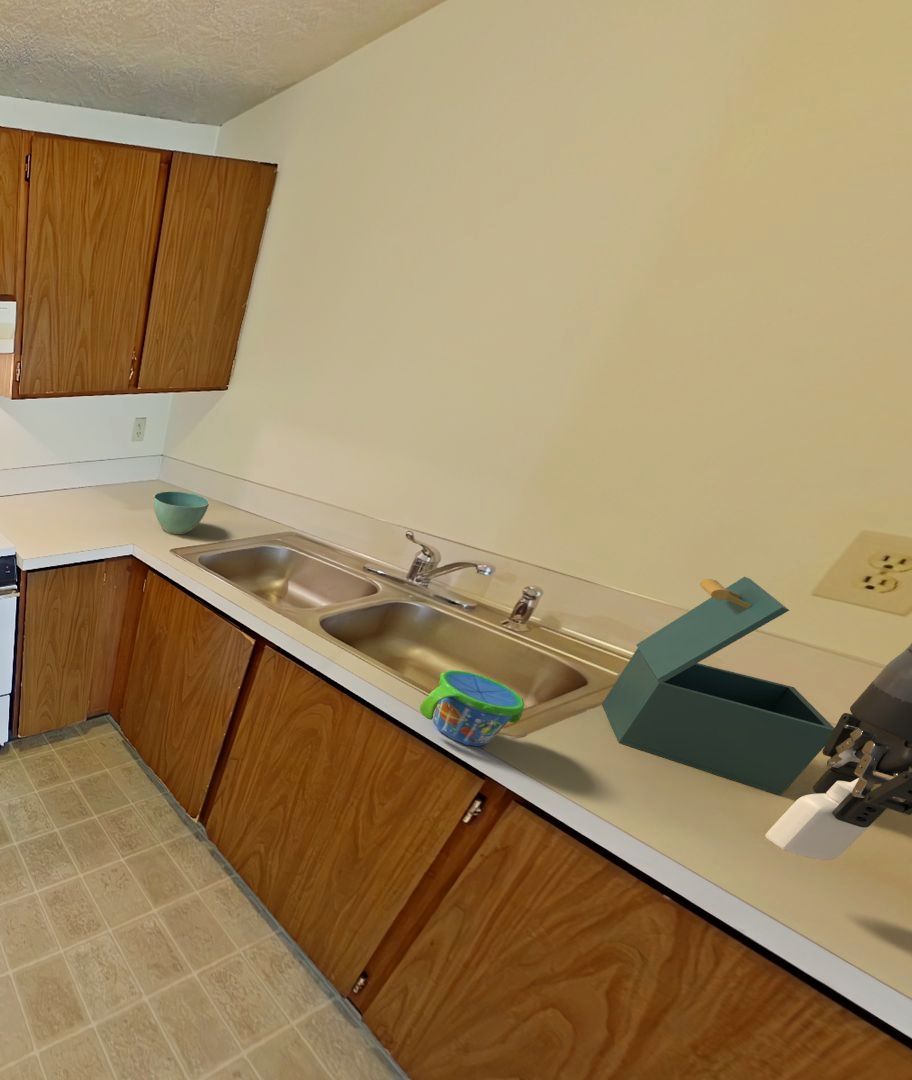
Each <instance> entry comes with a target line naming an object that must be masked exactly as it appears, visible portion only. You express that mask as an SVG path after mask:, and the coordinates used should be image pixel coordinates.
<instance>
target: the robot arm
mask: <svg viewBox="0 0 912 1080" xmlns="http://www.w3.org/2000/svg"><path fill="white" fill-rule="evenodd" d="M849 711H850V713H849V712H843V713H842V714H841V715H840V717H839V719H838V721H837V723H836V725H835V726H834V730H833V732H832V734H831V736H830V738H829V740H828V741H827V743H826V745H825V747H824V748H823V749H822V755H823V756H825V757H829V758H828V760H827V761H826V767H828V768H827V770H825V772H824V773H823V774H822V775H821V776H820V777H819V778H818V780H817V781H816V782H815V783H814V784H813V785H812V786H811V790H812V791H813V792H814V794H821V793H823V794H827V793H826V792H827V791H828V790H829V789H830V788H831V787H832V786H833V785H834V784H835V783H836V782H837V781H846V782H852V781H854V780H856V779H857V778H859V780H858V782H857V783H856V785H855V787H854V789H853V790H852V793H849V794H848V795H847V797H846V798H845V799H844V800H843V801H842V802H841V803H840V804H839V805H838V806H837V807H836V808H835V809H834V810H833V811H832V814H833V815H834V817H835V818H836V819H838V820H840V821H843V822H846V823H849V824H852V825H855V826H858V827H864V828H865V827H869V826H870V825H871V824H872V823H873V822H874V821H875V822H876V820H877V819H878V818H879V817H881V815H882V814H883V813H885V811H886V810H889V811H890V810H891V811H893V812H897V813H901V814H903V815H907V816H911V815H912V642H911V643H910V644H909V645H908V647H906V649H903V651H902V652H901V653H899V654H898V655H897V656H896V657H894V658H892V660H891V661H889V662H888V663H887V664H886V665H885V666H884V668H883V669H882V670H881V671H880V672H879V673H878V675H877V676H875V678H874V679H873V680H872V681H871V682H870V684H868V686H867V687H866V689H864V691H862V693H861V694H860V695H859V697H857V699H856V700H854V702H853V703H852V704H851V705H850V707H849ZM875 773H879V774H882V775H886V776H888V777H889V776H890V777H892V778H888V777H886V776H885V777H884V776H880V775H878V774H875ZM875 785H878V786H876V788H874V789H873V787H874V786H875ZM875 822H874V823H875ZM874 823H873V824H874ZM873 824H872V825H873ZM872 825H871V826H872ZM871 826H870V827H871ZM870 827H869V828H870Z"/></svg>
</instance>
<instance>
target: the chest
mask: <svg viewBox="0 0 912 1080" xmlns="http://www.w3.org/2000/svg"><path fill="white" fill-rule="evenodd" d="M601 706H602V708H603V710H604V711H603V712H604V713H605V715H606V718H607V720H608V722H609V725H610V727H611V729H612V732H613V733H614V736H615V738H616V741H617V743H618V744H621V745H624V746H627V747H630V748H634V749H636V750H639V751H643V752H645V753H649V754H652V755H654V756H657V757H661V758H664V759H667V760H670V761H673V762H676V763H679V764H682V765H686V766H688V767H691V768H695V769H698V770H700V771H704V772H707V773H711V774H712V775H716V776H719V777H721V778H724V779H729V780H731V781H734V782H736V783H741V784H744V785H746V786H749V787H752V788H755V789H759V790H762V791H764V792H768V793H771V794H774V795H776V796H777V795H778V796H779V797H780V796H782V795H783V794H784V793H785V792H786V791H787V789H789V787H790V786H791V785H792V784H793V782H795V781H796V780H797V778H798V777H799V776H800V775H801V774H802V773H803V772H804V770H805V769H806V768H807V767H808V766H809V764H810V763H811V762H812V761H813V760H814V759H815V758H816V757H817V756H818V755H819V754H820V752H821V751H823V749H824V747H825V745H826V743H827V741H828V740H829V738H830V736H831V734H832V732H833V730H834V728H835V726H833V725H832V723H830V721H828V720H827V719H826V718H825V717H824V716H823V714H821V713H820V712H819V710H817V709H816V708H815V706H814V705H812V703H810V701H808V700H807V698H805V696H804V695H802V694H801V693H800V692H799V691H798V690H797V689H796V687H794V686H791V685H787V684H783V683H779V682H775V681H771V680H767V679H764V678H758V677H755V676H751V675H746V674H743V673H740V672H739V673H738V672H735V671H731V670H727V669H723V668H718V667H714V666H711V665H706V664H702V663H700V662H698V663H696V664H695V665H693V666H691V667H689V668H688V669H686V670H684V671H682V672H681V673H679V674H677V675H675V676H674V677H672V678H670V679H668V680H667V681H665V682H662V681H660V680H658V679H657V677H656V676H655V674H654V673H653V671H652V669H651V668H650V666H649V665H648V663H647V661H646V660H645V658H644V657H643V655H642V653H641V652H640V650H639V649H638V647H637V648H636V650H635V651H634V653H633V654H632V656H631V657H630V659H629V661H628V662H627V664H626V665H625V667H624V668H623V670H622V671H621V673H620V674H619V676H618V677H617V679H616V681H615V683H614V684H613V686H612V687H611V689H610V691H609V692H608V693H607V695H606V697H605V698H604V700H603V701H602V703H601Z"/></svg>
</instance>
